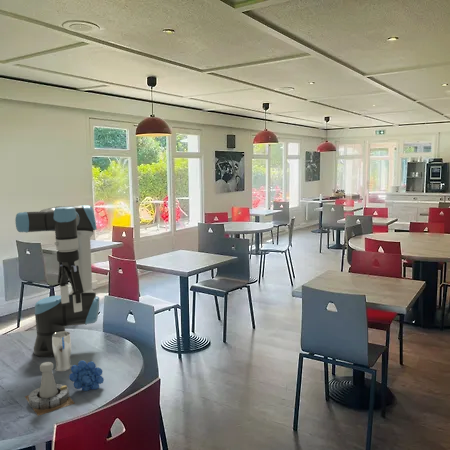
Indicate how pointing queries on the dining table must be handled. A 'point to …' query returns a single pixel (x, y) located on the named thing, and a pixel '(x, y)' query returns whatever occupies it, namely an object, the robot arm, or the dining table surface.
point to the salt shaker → (47, 381)
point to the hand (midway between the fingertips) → (71, 307)
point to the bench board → (40, 412)
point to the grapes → (86, 375)
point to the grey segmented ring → (48, 402)
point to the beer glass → (62, 350)
